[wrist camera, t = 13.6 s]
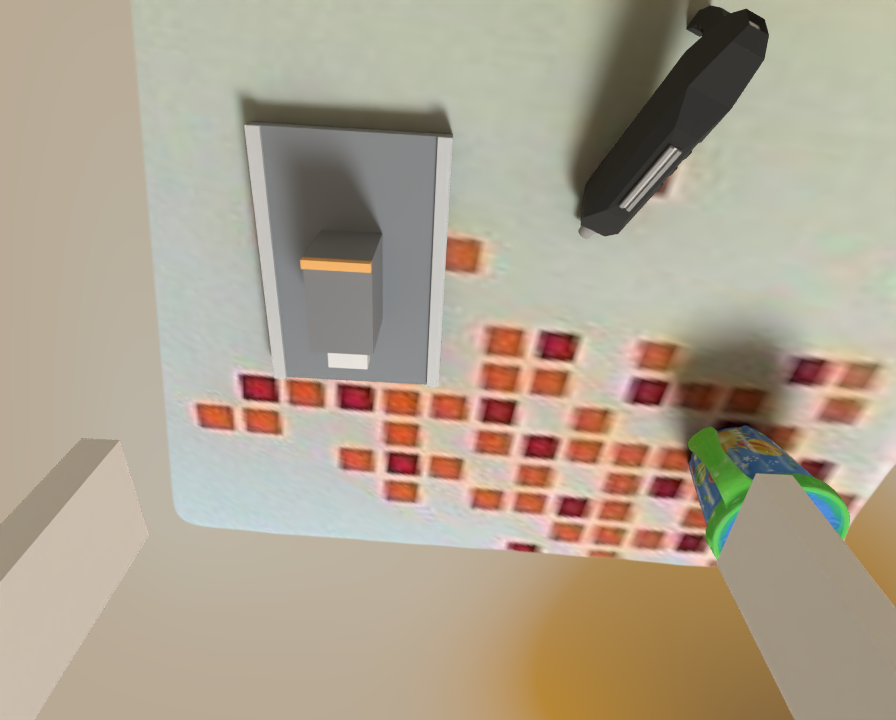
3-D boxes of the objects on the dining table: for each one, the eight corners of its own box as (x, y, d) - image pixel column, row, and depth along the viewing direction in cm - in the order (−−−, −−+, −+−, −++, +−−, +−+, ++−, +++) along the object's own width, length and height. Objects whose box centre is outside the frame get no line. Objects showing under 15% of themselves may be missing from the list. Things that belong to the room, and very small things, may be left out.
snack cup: (637, 429, 51) (674, 510, 43) (744, 369, 48) (809, 443, 39) (711, 523, 57) (758, 611, 49) (811, 476, 54) (881, 560, 45)
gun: (574, 164, 45) (565, 249, 39) (722, -48, 32) (740, 35, 26) (604, 178, 46) (599, 264, 40) (762, -24, 32) (788, 62, 27)
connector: (321, 229, 41) (300, 260, 35) (382, 233, 41) (370, 264, 35) (328, 343, 45) (310, 386, 40) (382, 346, 45) (372, 389, 40)
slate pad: (252, 121, 38) (244, 125, 37) (452, 134, 39) (452, 138, 37) (280, 367, 48) (274, 378, 47) (438, 375, 49) (438, 387, 47)
